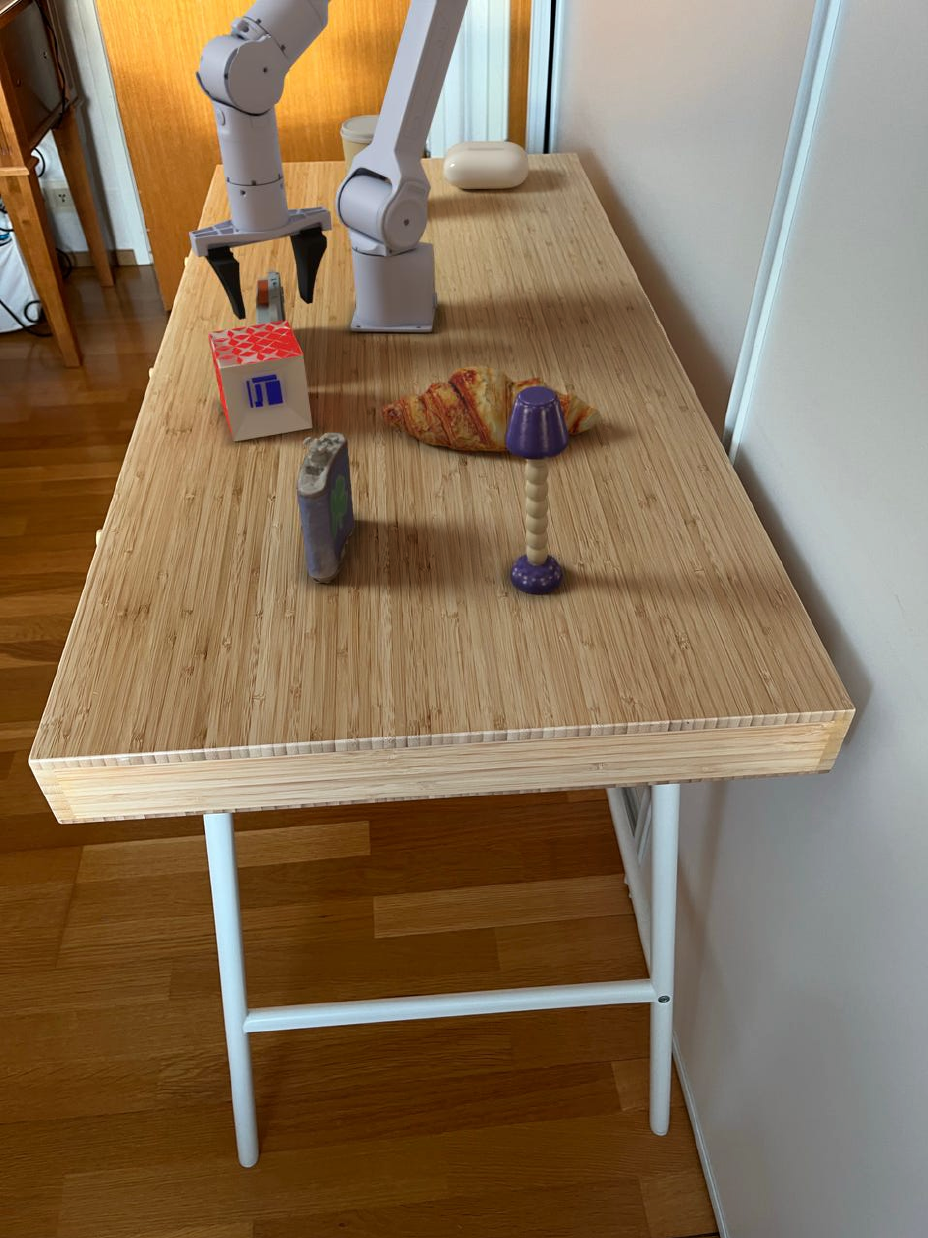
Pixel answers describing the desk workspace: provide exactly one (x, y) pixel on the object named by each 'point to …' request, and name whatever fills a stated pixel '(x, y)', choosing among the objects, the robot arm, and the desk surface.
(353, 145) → the coffee cup
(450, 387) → the croissant
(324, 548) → the flask
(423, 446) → the desk surface
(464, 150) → the earbud case
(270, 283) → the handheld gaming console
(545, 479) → the toy lamp
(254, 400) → the white and red cube
